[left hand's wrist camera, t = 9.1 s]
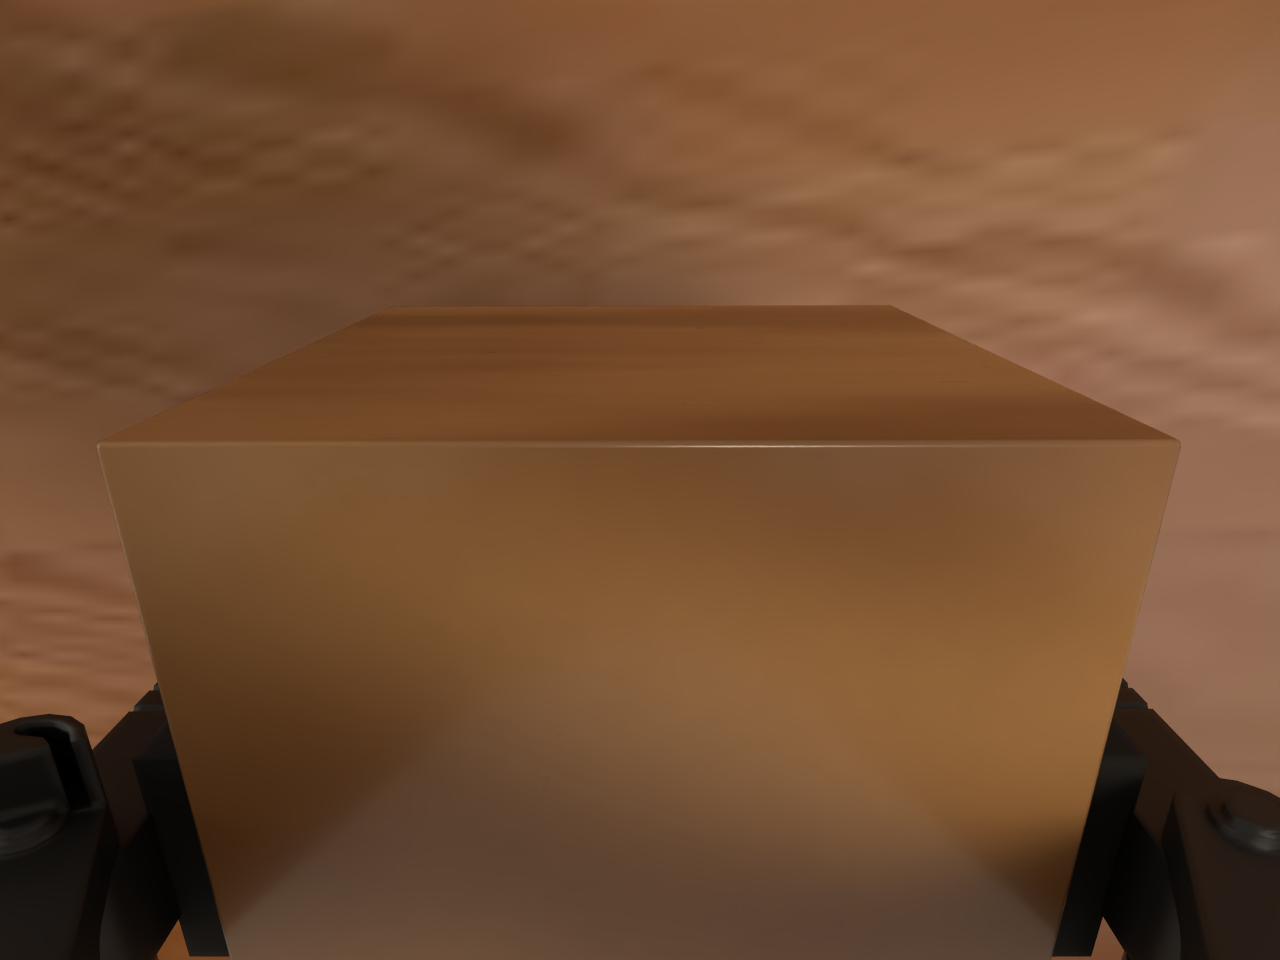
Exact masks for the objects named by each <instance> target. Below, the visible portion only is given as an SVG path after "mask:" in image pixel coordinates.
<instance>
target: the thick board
mask: <svg viewBox="0 0 1280 960" xmlns="http://www.w3.org/2000/svg"><path fill="white" fill-rule="evenodd" d="M1180 448H1181V444H1180V441H1179V440H1178V439H1175V438H1173V437H1171V436H1169V435H1167V434H1165V433H1163V432H1160V431H1158V430H1156V429H1154V428H1152V427H1150V426H1148V425H1146V424H1143V423H1141V422H1139V421H1137V420H1135V419H1133V418H1131V417H1128V416H1126V415H1124V414H1122V413H1120V412H1118V411H1116V410H1113V409H1111V408H1109V407H1107V406H1105V405H1103V404H1101V403H1098V402H1096V401H1094V400H1092V399H1090V398H1088V397H1086V396H1083V395H1081V394H1079V393H1077V392H1075V391H1073V390H1071V389H1068V388H1066V387H1064V386H1062V385H1060V384H1058V383H1056V382H1053V381H1051V380H1049V379H1047V378H1045V377H1043V376H1041V375H1038V374H1036V373H1034V372H1032V371H1030V370H1028V369H1026V368H1024V367H1021V366H1019V365H1017V364H1015V363H1013V362H1011V361H1009V360H1006V359H1004V358H1002V357H1000V356H998V355H996V354H994V353H991V352H989V351H987V350H985V349H983V348H981V347H979V346H976V345H974V344H972V343H970V342H968V341H966V340H964V339H961V338H959V337H957V336H955V335H953V334H951V333H949V332H946V331H944V330H942V329H940V328H938V327H936V326H934V325H931V324H929V323H927V322H925V321H923V320H921V319H919V318H916V317H914V316H912V315H910V314H908V313H906V312H904V311H902V310H899V309H897V308H895V307H893V306H891V305H836V306H504V307H390V308H388V309H386V310H384V311H382V312H379V313H377V314H375V315H373V316H371V317H369V318H366V319H364V320H362V321H360V322H358V323H356V324H353V325H351V326H349V327H347V328H345V329H343V330H340V331H338V332H336V333H334V334H332V335H330V336H327V337H325V338H323V339H321V340H319V341H317V342H314V343H312V344H310V345H308V346H306V347H304V348H301V349H299V350H297V351H295V352H293V353H291V354H288V355H286V356H284V357H282V358H280V359H278V360H275V361H273V362H271V363H269V364H267V365H265V366H262V367H260V368H258V369H256V370H254V371H252V372H249V373H247V374H245V375H243V376H241V377H239V378H236V379H234V380H232V381H230V382H228V383H226V384H223V385H221V386H219V387H217V388H215V389H213V390H210V391H208V392H206V393H204V394H202V395H200V396H197V397H195V398H193V399H191V400H189V401H187V402H184V403H182V404H180V405H178V406H176V407H174V408H171V409H169V410H167V411H165V412H163V413H161V414H158V415H156V416H154V417H152V418H150V419H148V420H145V421H143V422H141V423H139V424H137V425H135V426H132V427H130V428H128V429H126V430H124V431H122V432H119V433H117V434H115V435H113V436H111V437H109V438H107V439H104V440H102V441H100V442H98V444H97V453H98V456H99V460H100V464H101V468H102V472H103V475H104V479H105V483H106V487H107V491H108V494H109V498H110V502H111V506H112V510H113V514H114V517H115V521H116V525H117V529H118V533H119V536H120V540H121V544H122V548H123V552H124V555H125V559H126V563H127V567H128V571H129V575H130V578H131V582H132V586H133V590H134V594H135V597H136V601H137V605H138V609H139V613H140V617H141V620H142V624H143V628H144V632H145V636H146V639H147V643H148V647H149V651H150V655H151V658H152V662H153V666H154V670H155V674H156V678H157V681H158V685H159V689H160V693H161V697H162V700H163V704H164V708H165V712H166V716H167V719H168V723H169V727H170V731H171V735H172V739H173V742H174V746H175V750H176V754H177V758H178V761H179V765H180V769H181V773H182V777H183V780H184V784H185V788H186V792H187V796H188V800H189V803H190V807H191V811H192V815H193V819H194V822H195V826H196V830H197V834H198V838H199V842H200V845H201V849H202V853H203V857H204V861H205V864H206V868H207V872H208V876H209V880H210V883H211V887H212V891H213V895H214V899H215V903H216V906H217V910H218V914H219V918H220V922H221V925H222V929H223V933H224V937H225V941H226V944H227V948H228V952H229V956H230V960H1051V958H1052V954H1053V950H1054V946H1055V942H1056V938H1057V934H1058V930H1059V926H1060V922H1061V918H1062V914H1063V910H1064V906H1065V902H1066V898H1067V894H1068V890H1069V887H1070V883H1071V879H1072V875H1073V871H1074V867H1075V863H1076V859H1077V855H1078V851H1079V847H1080V843H1081V839H1082V835H1083V831H1084V827H1085V823H1086V819H1087V815H1088V811H1089V807H1090V804H1091V800H1092V796H1093V792H1094V788H1095V784H1096V780H1097V776H1098V772H1099V768H1100V764H1101V760H1102V756H1103V752H1104V748H1105V744H1106V740H1107V736H1108V732H1109V728H1110V724H1111V721H1112V717H1113V713H1114V709H1115V705H1116V701H1117V697H1118V693H1119V689H1120V685H1121V681H1122V677H1123V673H1124V669H1125V665H1126V661H1127V657H1128V653H1129V649H1130V645H1131V641H1132V638H1133V634H1134V630H1135V626H1136V622H1137V618H1138V614H1139V610H1140V606H1141V602H1142V598H1143V594H1144V590H1145V586H1146V582H1147V578H1148V574H1149V570H1150V566H1151V562H1152V558H1153V554H1154V551H1155V547H1156V543H1157V539H1158V535H1159V531H1160V527H1161V523H1162V519H1163V515H1164V511H1165V507H1166V503H1167V499H1168V495H1169V491H1170V487H1171V483H1172V479H1173V475H1174V471H1175V468H1176V464H1177V460H1178V456H1179V452H1180Z"/></svg>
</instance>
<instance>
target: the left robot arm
mask: <svg viewBox="0 0 1280 960" xmlns="http://www.w3.org/2000/svg"><path fill="white" fill-rule="evenodd" d="M1103 917H1104V919H1105V920H1106V922H1107V924H1108V925H1109V927H1110V928H1111V930H1112V931H1113V933H1114V935H1115V936H1116V938H1117V939H1118V941H1119V943H1120V944H1121V946H1122V947H1123V949H1124V953H1123V957H1122V960H1280V798H1279V797H1277V796H1275V795H1273V794H1272V793H1270V792H1268V791H1265V790H1262V789H1259V788H1256V787H1254V786H1251V785H1248V784H1245V783H1242V782H1239V781H1235V780H1228V779H1222V778H1219V777H1218V776H1217V775H1216V774H1215V773H1214V772H1213V771H1212V770H1211V769H1210V768H1209V767H1208V766H1207V765H1206V764H1205V763H1204V762H1203V761H1202V760H1201V759H1200V758H1199V757H1198V755H1197V754H1196V753H1195V752H1194V751H1193V750H1192V749H1191V748H1190V747H1189V746H1188V745H1187V744H1186V743H1185V742H1184V741H1183V740H1182V739H1181V738H1180V737H1179V736H1178V735H1177V734H1176V733H1175V732H1174V731H1173V730H1172V729H1171V728H1170V727H1169V725H1168V724H1167V723H1166V722H1165V721H1164V720H1163V719H1162V718H1161V717H1160V716H1159V715H1158V714H1157V713H1156V712H1155V711H1154V710H1153V709H1148V707H1147V703H1146V702H1145V701H1144V700H1143V699H1142V698H1141V696H1140V695H1139V694H1138V693H1137V692H1136V691H1135V690H1134V689H1133V688H1128V683H1127V682H1126V681H1125V680H1124V679H1123V678H1122V681H1121V685H1120V689H1119V693H1118V697H1117V701H1116V705H1115V709H1114V713H1113V717H1112V721H1111V724H1110V728H1109V732H1108V736H1107V740H1106V744H1105V748H1104V752H1103V756H1102V760H1101V764H1100V768H1099V772H1098V776H1097V780H1096V784H1095V788H1094V792H1093V796H1092V800H1091V804H1090V807H1089V811H1088V815H1087V819H1086V823H1085V827H1084V831H1083V835H1082V839H1081V843H1080V847H1079V851H1078V855H1077V859H1076V863H1075V867H1074V871H1073V875H1072V879H1071V883H1070V887H1069V890H1068V894H1067V898H1066V902H1065V906H1064V910H1063V914H1062V918H1061V922H1060V926H1059V930H1058V934H1057V938H1056V942H1055V946H1054V950H1053V954H1052V956H1091V955H1092V951H1093V948H1094V945H1095V941H1096V938H1097V934H1098V931H1099V928H1100V924H1101V921H1102V918H1103ZM178 919H179V922H180V925H181V928H182V932H183V935H184V939H185V942H186V945H187V949H188V952H189V956H229V952H228V948H227V944H226V941H225V937H224V933H223V929H222V925H221V922H220V918H219V914H218V910H217V906H216V903H215V899H214V895H213V891H212V887H211V883H210V880H209V876H208V872H207V868H206V864H205V861H204V857H203V853H202V849H201V845H200V842H199V838H198V834H197V830H196V826H195V822H194V819H193V815H192V811H191V807H190V803H189V800H188V796H187V792H186V788H185V784H184V780H183V777H182V773H181V769H180V765H179V761H178V758H177V754H176V750H175V746H174V742H173V739H172V735H171V731H170V727H169V723H168V719H167V716H166V712H165V708H164V704H163V700H162V697H161V693H160V689H159V685H158V682H157V683H156V684H155V685H154V690H153V691H148V693H147V694H146V695H145V696H144V697H143V698H142V699H141V700H140V701H139V702H138V703H137V704H136V705H135V706H134V711H133V712H128V713H127V714H126V715H125V716H124V718H123V719H122V720H121V721H120V722H119V723H118V724H117V725H116V726H115V727H114V728H113V729H112V730H111V731H110V732H109V733H108V734H107V735H106V736H105V737H104V738H103V739H102V740H101V742H100V743H99V744H98V745H97V746H96V747H95V748H94V749H93V750H92V748H91V745H90V742H89V739H88V736H87V733H86V730H85V726H84V725H83V724H82V723H80V722H79V721H77V720H76V719H74V718H73V717H71V716H63V715H54V714H45V715H38V716H30V717H23V718H18V719H15V720H12V721H8V722H5V723H2V724H0V960H158V957H157V953H158V951H159V950H160V948H161V946H162V945H163V943H164V942H165V940H166V938H167V937H168V935H169V934H170V932H171V930H172V929H173V927H174V926H175V924H176V922H177V921H178Z"/></svg>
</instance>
